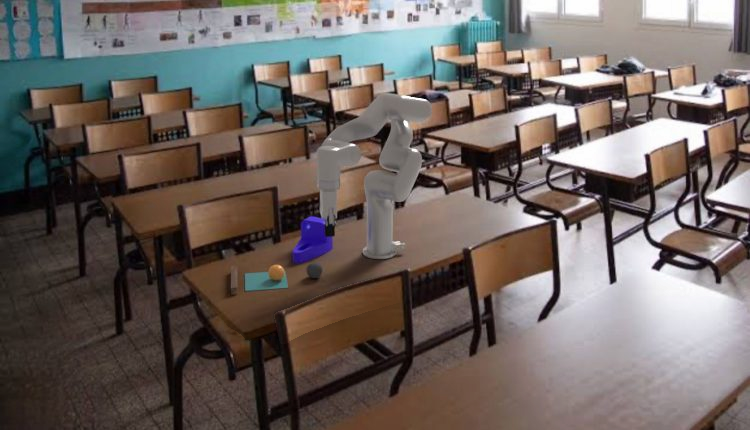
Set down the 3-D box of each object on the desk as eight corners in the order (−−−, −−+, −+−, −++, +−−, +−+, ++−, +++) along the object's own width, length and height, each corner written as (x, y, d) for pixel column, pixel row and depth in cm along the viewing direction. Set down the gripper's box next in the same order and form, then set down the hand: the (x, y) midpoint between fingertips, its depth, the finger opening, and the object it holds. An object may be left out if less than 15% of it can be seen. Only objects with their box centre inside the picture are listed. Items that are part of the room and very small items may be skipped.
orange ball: (272, 259, 246) (265, 273, 247) (273, 266, 241) (265, 280, 242) (286, 265, 248) (279, 279, 249) (287, 272, 243) (280, 285, 244)
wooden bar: (237, 272, 252) (237, 265, 251) (237, 294, 235) (237, 287, 235) (231, 272, 252) (231, 266, 251) (231, 294, 235) (230, 287, 234)
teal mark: (285, 271, 253) (285, 270, 253) (288, 288, 240) (288, 287, 240) (244, 274, 251) (244, 273, 251) (245, 291, 238) (245, 290, 238)
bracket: (307, 244, 278) (306, 215, 274) (332, 249, 273) (332, 219, 269) (282, 261, 262) (281, 230, 258) (308, 266, 258) (307, 235, 254)
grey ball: (307, 258, 248) (303, 272, 250) (309, 264, 243) (305, 279, 245) (323, 261, 250) (319, 275, 251) (325, 267, 245) (320, 282, 246)
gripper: (315, 177, 244) (316, 228, 250) (319, 190, 230) (321, 244, 237) (337, 176, 246) (337, 227, 252) (343, 189, 232) (343, 243, 238)
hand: (329, 235), depth 244 cm, fingers closed
